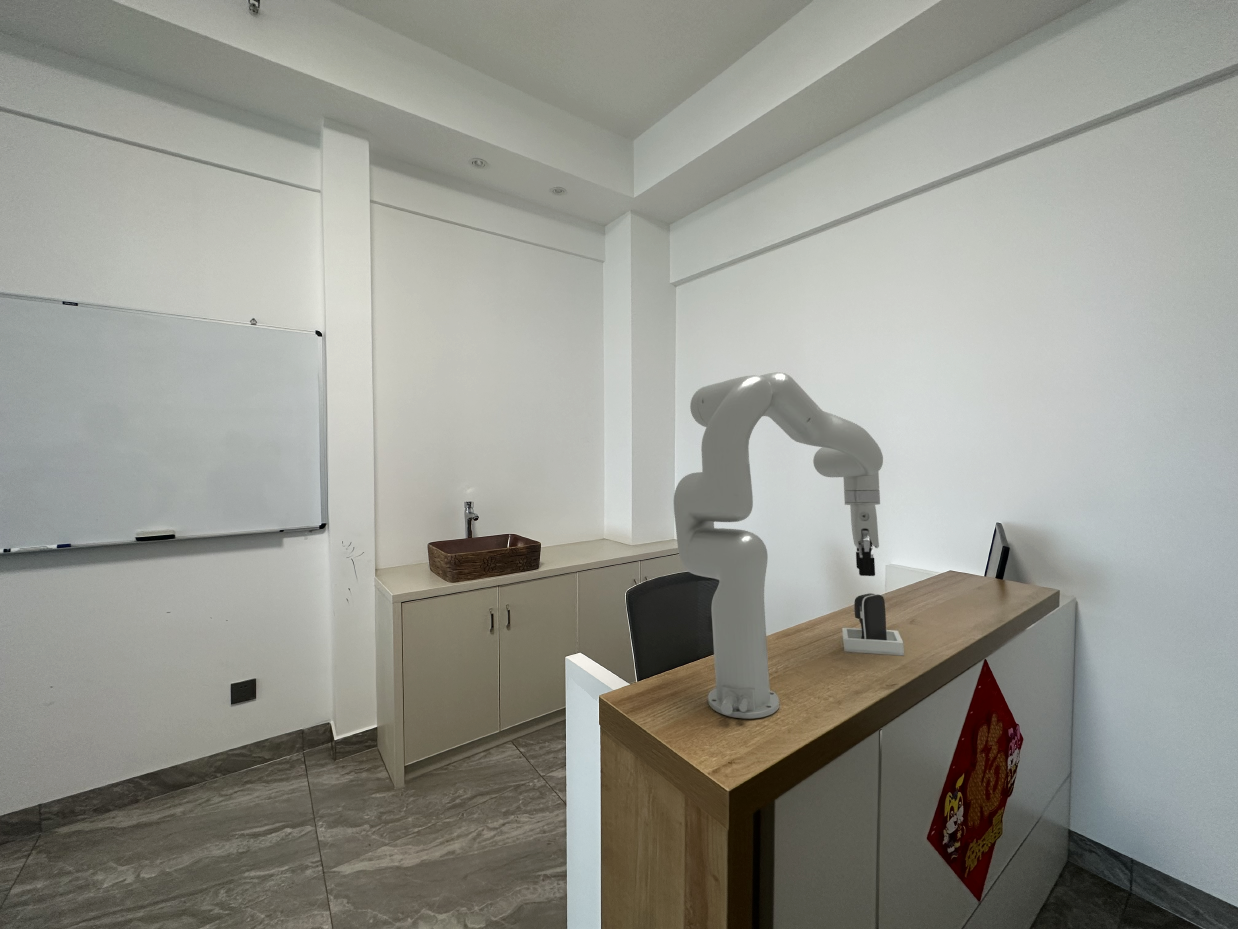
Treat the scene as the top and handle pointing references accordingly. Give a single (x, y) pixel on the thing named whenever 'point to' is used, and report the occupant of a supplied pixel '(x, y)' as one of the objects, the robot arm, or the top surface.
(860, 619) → the battery charger
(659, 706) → the top surface
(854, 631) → the tray
